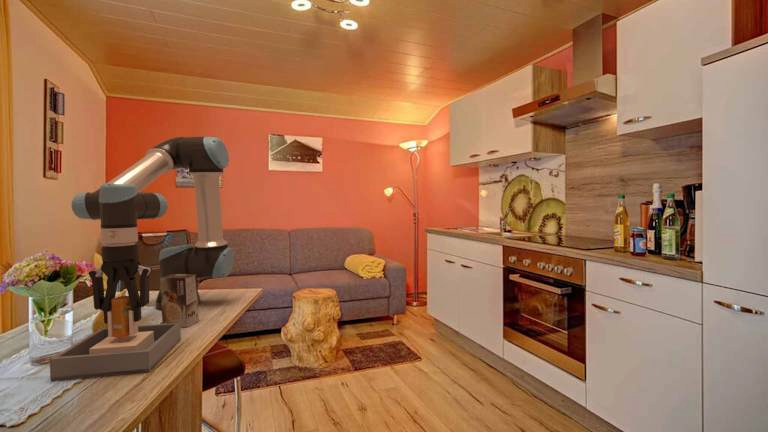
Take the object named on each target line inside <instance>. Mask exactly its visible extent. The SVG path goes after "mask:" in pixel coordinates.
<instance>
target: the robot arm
mask: <svg viewBox="0 0 768 432" xmlns="http://www.w3.org/2000/svg"><path fill="white" fill-rule="evenodd" d="M229 158H230V156H229V152H228V148H227V146H226V144H225V143H224V141H223V140H221V139H220V138H219V137H215V136H214V137H213V136H177V137H173V138H172V137H171V138H168V139H166V140H164V141H162V142H160V143H157V144H156V145H154V146H153V147H151V148H150V149H148V150H147V151H146V152H145V155H144V157H143V158H141V159H139V160H138V161H137V162H135V163H134V164H132V165H131V166H130V167H128V168H127V169H125V170H124V171H122V172H121V173H119V174H118V175H117V176H115V177H114V178H113V179H111V180H110V181H108V182H106V183H102V184H101V185H100V186H99V188H98V189H96V190H95V191H94V192H91V191H90V192H89V191H86V192H82V193H77V194H76V195H75V196H73V198H72V200H71V206H70V207H71V210H72V212H73V213H74V215H75V217H77V218H78V219H81V220H91V221H97V220H99V221H100V240H101V241H100V243H101V244H102V247H101V260H102V263H101V265H100V267H99V268H97V269H96V268H95V269H94V270H90V271H89V272H88V275H89V278H90V280H91V287H92V296H93V297H92V299H93V308H94V310H96V311H97V310H99V311H102V312H103V322H104V324H105V325H107V328H108V338H109V337H113V323H112V301H111V300H112V299H113V298H116V294H117V289H118V285H119V283H120V281H121V282H123V285H124V286H125V288H126V291H127V296H129V299H130V303H131V306H132V309H131V310H129V331H130V336H133V335H135V334H136V333H137V332H138V326H139V323H138V322H139V321H141V319H142V308H144V307H145V306H147V305H148V304H150V275H151V273H152V271H153V268H152V266H151V267H150V266H148V267H147V266H143V265H141V263H140V262H139V245H138V244H137V242H138V241H139V235H138V233H139V232H138V220H156V219H158V218H162V217H163V216H164V215H165V214H166V213H167V210H168V208H169V207H168V201H167V198H165V196H163V195H162V194H160V193H155V192H148V191H147V192H144V191H143V190H145V189H146V188H147V187H148V186H150V184H153V182H154V181H156V180H157V179H158V178H159V177H161V176H162V174H163V175H164V174H168V173H170V172H172V171H173V170H177V169H179V170H180V169H188V174H190V175H191V176H192V177H193V180H194V181H193V183H194V193H195V194H194V195H195V208H196V209H195V210H196V220H197V221H196V222H197V225H196V226H197V236H198V240H197V242H195V244H191V243H190V244H184V245H183V244H182V245H176V246H171V247H165V248H162V249H161V250H160V251H159V259H158V262H159V285H160V287H159V290H158V293H157V296H156V298H155V309H156V310H159V311H162V302H161V280H160V278H162V277H165V276H168V275H171V274H197V279H218V278H219V279H221V278H226V277H228V276H229V275H230V273H231V272H232V269H233V267H234V264H235V255H236V254H235V252H234V248H232V247H229V242H228V241H227V240H225V239H224V230H223V216H222V215H223V213H222V202H221V199H222V198H221V184H220V183H221V182H220V177H221V176H222V175H223V174H224V169H226V168H227V167H228V166H229V162H230V159H229ZM142 191H143V192H142ZM137 272H138V274H139V276H140V277H139V290H138V286H137V283H136V282H137V278H136V274H137ZM103 275H105V276H106V278H107V280H106V289H105V286H104V277H103ZM200 303H201V295H200V293H199V292H198V305H199V304H200Z"/></svg>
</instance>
